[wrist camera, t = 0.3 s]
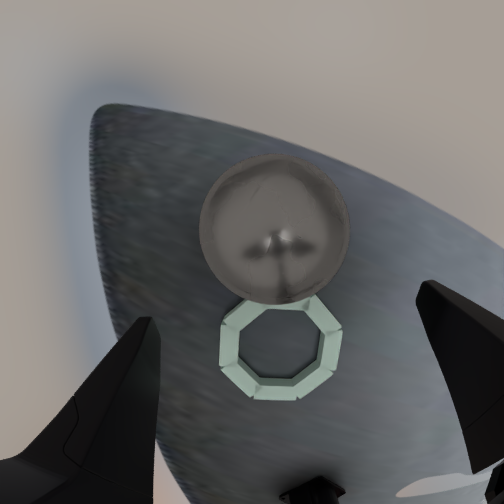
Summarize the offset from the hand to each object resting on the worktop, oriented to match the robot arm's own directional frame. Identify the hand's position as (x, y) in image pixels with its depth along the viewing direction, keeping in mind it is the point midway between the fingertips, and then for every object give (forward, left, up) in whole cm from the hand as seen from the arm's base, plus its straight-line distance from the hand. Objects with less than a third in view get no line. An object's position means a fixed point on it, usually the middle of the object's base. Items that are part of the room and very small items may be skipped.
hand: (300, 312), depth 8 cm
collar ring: (-6, +4, -15) cm, 16 cm away
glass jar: (+2, -1, -15) cm, 15 cm away
